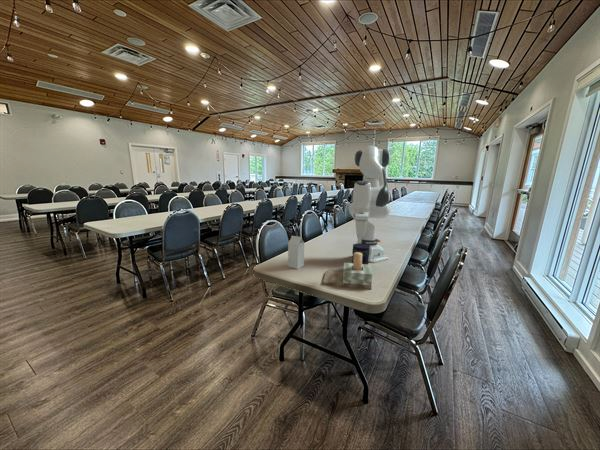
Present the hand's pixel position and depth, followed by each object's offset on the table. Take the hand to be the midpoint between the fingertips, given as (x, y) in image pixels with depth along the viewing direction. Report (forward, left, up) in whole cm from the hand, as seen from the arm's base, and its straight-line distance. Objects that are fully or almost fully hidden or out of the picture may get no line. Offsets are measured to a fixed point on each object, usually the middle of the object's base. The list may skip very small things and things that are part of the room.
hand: (359, 240), depth 128 cm
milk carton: (+22, -32, -23) cm, 45 cm away
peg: (0, 0, -21) cm, 21 cm away
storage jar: (-12, -14, -23) cm, 29 cm away
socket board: (+4, -3, -23) cm, 23 cm away
